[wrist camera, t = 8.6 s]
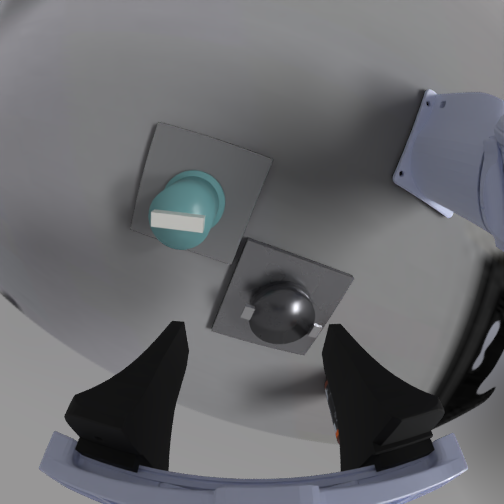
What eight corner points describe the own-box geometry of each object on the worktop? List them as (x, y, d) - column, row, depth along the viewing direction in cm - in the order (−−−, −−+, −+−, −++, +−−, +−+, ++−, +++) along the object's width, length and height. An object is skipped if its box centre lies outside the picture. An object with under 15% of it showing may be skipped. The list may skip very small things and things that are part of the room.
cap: (229, 173, 19) (221, 186, 14) (221, 234, 21) (213, 264, 16) (165, 167, 19) (139, 178, 14) (162, 227, 21) (139, 254, 16)
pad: (160, 122, 18) (158, 122, 17) (272, 159, 19) (273, 159, 19) (133, 226, 21) (130, 229, 21) (231, 261, 23) (231, 264, 22)
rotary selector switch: (247, 237, 22) (247, 252, 19) (352, 275, 23) (362, 292, 21) (212, 327, 26) (208, 347, 23) (303, 351, 27) (307, 371, 25)
